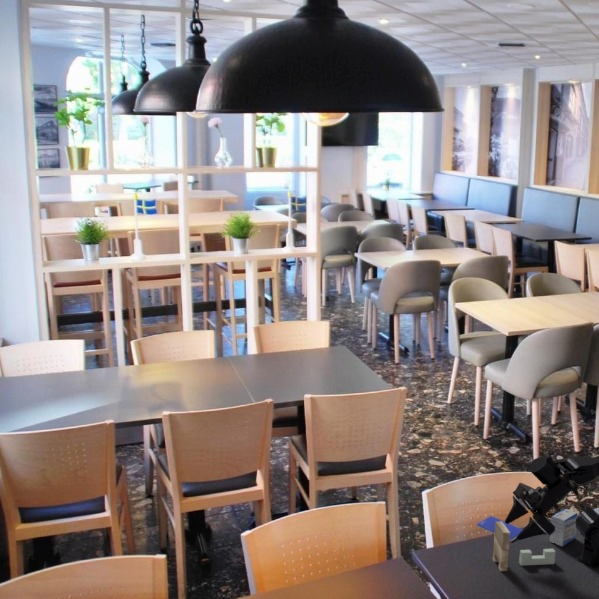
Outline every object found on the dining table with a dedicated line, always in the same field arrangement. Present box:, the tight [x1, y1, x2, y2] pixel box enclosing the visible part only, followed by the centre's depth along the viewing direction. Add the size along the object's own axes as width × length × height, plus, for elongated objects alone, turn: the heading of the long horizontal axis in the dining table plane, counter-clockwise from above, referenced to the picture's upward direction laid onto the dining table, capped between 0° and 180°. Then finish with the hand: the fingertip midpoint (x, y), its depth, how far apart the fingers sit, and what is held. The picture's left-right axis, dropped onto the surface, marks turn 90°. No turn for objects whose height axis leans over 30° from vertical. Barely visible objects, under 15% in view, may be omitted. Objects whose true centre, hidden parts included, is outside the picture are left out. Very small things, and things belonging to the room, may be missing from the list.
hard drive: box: [476, 515, 524, 543], centre depth 248 cm, size 2×8×12 cm
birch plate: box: [492, 520, 510, 572], centre depth 227 cm, size 2×6×12 cm, turn 6°
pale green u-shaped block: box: [518, 548, 556, 566], centre depth 229 cm, size 10×2×4 cm, turn 96°
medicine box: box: [549, 508, 578, 547], centre depth 242 cm, size 8×4×9 cm, turn 132°
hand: (511, 530), depth 226 cm, fingers open, 9 cm apart
